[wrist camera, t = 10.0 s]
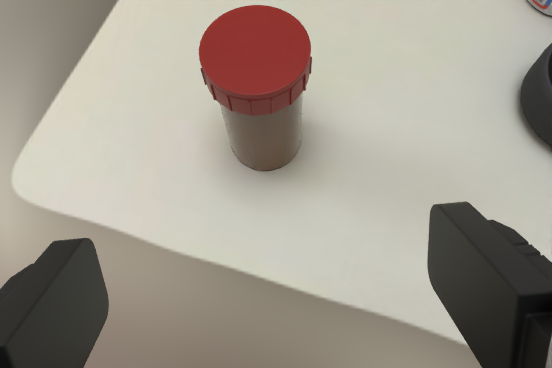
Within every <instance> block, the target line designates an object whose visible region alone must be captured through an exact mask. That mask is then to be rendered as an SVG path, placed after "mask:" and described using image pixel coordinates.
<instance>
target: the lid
mask: <svg viewBox="0 0 552 368" xmlns="http://www.w3.org/2000/svg"><path fill="white" fill-rule="evenodd" d="M310 53H311V45H310V39H309V36H308V34H307V31H306V30H305V28H304V27H303V25H302V24H301V23H300V22H299V21H298V20H297V19H296V18H295V17H294V16H292V15H291V14H289V13H287V12H285V11H283V10H281V9H278V8H275V7H271V6H264V5H251V6H244V7H240V8H236V9H234V10H231V11H229V12H227V13H225V14H223V15H221V16H220V17H218V18H217V19H216V20H215V21H214V22H213V23H212V24H211V25H210V26H209V27H208V28H207V30H206V31H205V33H204V35H203V37H202V39H201V42H200V47H199V58H200V63H201V66H202V68H201V72H202V75H203V79H204V82H205V85H206V84H207V86H208V89H209V91H210V92H211V94H212V95H213V99H214V100H217V101H218V102H219V103H220V104H222V105H223V106H224V107H226V108H228V109H229V111H234V112H237V113H240V114H246V115H250V116H252V115H265V114H271V113H272V114H274V112H277V111H279V110H282V109H284V108H285V107H287V106H289V105H290V104H291V105H292V104H293V102H294V101H295V100H296V99H297V98H298V97H299V96H300V95H301V93H302V92H303V90H304V91H305V90H306V85H307V82H308V78H309V74H311V64H312V57H310Z"/></svg>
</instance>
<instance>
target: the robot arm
mask: <svg viewBox="0 0 552 368" xmlns="http://www.w3.org/2000/svg"><path fill="white" fill-rule="evenodd" d="M428 274H429V278H430V282H431V285H432V287H433V289H434V291H435V292H436V294H437V295H438V297H439V299H440V300H441V302H442V304H443V305H444V307H445V308H446V310H447V312H448V313H449V315H450V316H451V318H452V320H453V321H454V323H455V324H456V326H457V328H458V329H459V331H460V333H461V334H462V336H463V337H464V339H465V341H466V342H467V344H468V345H469V347H470V349H471V350H472V352H473V353H474V355H475V357H476V358H477V360H478V362H479V363H480V365H481V366H482V368H552V262H550V261H549V260H548V259H547V258H546V257H545V256H544V255H542V256H541V255H540V252H539V251H538V250H537V249H536V248H534V247H533V246H532V245H529V244H528V241H526V240H525V239H524V238H523V237H522V236H521V235H520V234H518V233H517V232H516V231H515V230H514V229H512V228H509V227H507V226H505V225H503V224H501V223H499V222H496V221H494V220H487V219H486V218H485V217H484V216H482V215H481V214H480V213H479V212H478V211H477V210H476V209H475V208H474V207H473V206H472V205H471V204H470V203H468V202H457V203H446V204H435V205H433V206H432V208H431V211H430V222H429V242H428ZM108 306H109V301H108V294H107V290H106V286H105V282H104V279H103V275H102V272H101V268H100V264H99V261H98V257H97V253H96V249H95V246H94V244H93V242H92V241H91V240H90V239H89V238H81V239H70V240H59V241H54V242H52V243H51V244H50V246H49V247H48V248H47V249H46V250H45V251H44V252H43V254H42V255H41V256H40V257H39V258H38V259H37V260H36V262H35V263H34V264H31V265H29V266H28V267H26V268H25V269H23V270H22V271H20V272H18V273H17V274H16V275H14V276H12V277H11V278H10V279H9V280H8V281H7V282H6V283H5V284H4V286H3V287H2V288H1V289H0V368H83V367H84V365H85V363H86V361H87V359H88V357H89V354H90V353H91V350H92V349H93V346H94V344H95V342H96V340H97V338H98V336H99V334H100V332H101V330H102V328H103V326H104V323H105V321H106V319H107V315H108Z"/></svg>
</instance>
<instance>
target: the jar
mask: <svg viewBox="0 0 552 368" xmlns="http://www.w3.org/2000/svg"><path fill="white" fill-rule="evenodd" d="M302 100H303V92H302V93H301V95H300V96H299V97H298V98H297V99H296V100H295V101H294V102H293V104H292V105H291V104H290V105H289V106H287V107H285V108H284V109H282V110H279V111H277V112H274V114H272V113H271V114H265V115H252V116H250V115H246V114H240V113H237V112H234V111H229V109H228V108H226V107H224V106H223V105H222V104H220V106H221V110H222V114H223V118H224V121H225V125H226V129H227V132H228V136H229V140H230V144H231V147H232V150H233V153H234V154H235V156H236V157H237V159H238V160H239V161H240V162H241V163H243V164H244V165H246V166H248V167H250V168H252V169H256V170H263V171H267V170H274V169H277V168H280V167H282V166H284V165H286V164H287V163H289V162H290V161H291V160H292V159H293V158H294V157H295V155H296V154H297V152H298V150H299V147H300V143H301V124H302Z"/></svg>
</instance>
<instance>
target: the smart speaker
mask: <svg viewBox="0 0 552 368" xmlns="http://www.w3.org/2000/svg"><path fill="white" fill-rule="evenodd" d="M521 103H522V107H523V111H524V113H525V116H526V118H527V120H528V122H529V123H530V125H531V126H532V128H533V129H534V130H535V131H536V133H537V134H538V135H539V136H540V137H541V138H542V139H543V140H545V141H546V142H547V143H548V144H550V145H551V146H552V43H551V44H550V45H549V46H548V47H547V48H546V49H545V51H544V52H543V53H542V54H541V56H540V57H539V58H538V59H537V61H536V62H535V63H534V64H533V66H532V67H531V68H530V70H529V71H528V73H527V74H526V76H525V78H524V80H523V84H522V88H521Z"/></svg>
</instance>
